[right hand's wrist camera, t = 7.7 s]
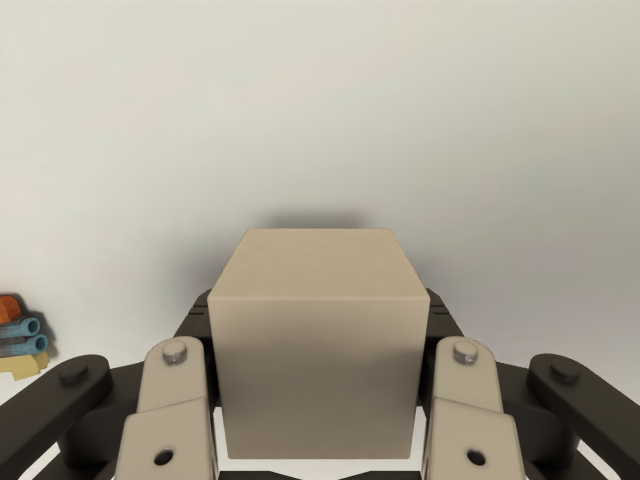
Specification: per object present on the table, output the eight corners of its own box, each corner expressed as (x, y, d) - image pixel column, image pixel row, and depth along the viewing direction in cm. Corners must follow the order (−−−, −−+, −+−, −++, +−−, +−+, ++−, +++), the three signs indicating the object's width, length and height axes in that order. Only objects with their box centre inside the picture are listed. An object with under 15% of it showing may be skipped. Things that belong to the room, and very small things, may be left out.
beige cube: (246, 227, 12) (205, 296, 7) (391, 227, 12) (431, 297, 7) (256, 348, 14) (227, 460, 9) (381, 348, 14) (410, 460, 9)
